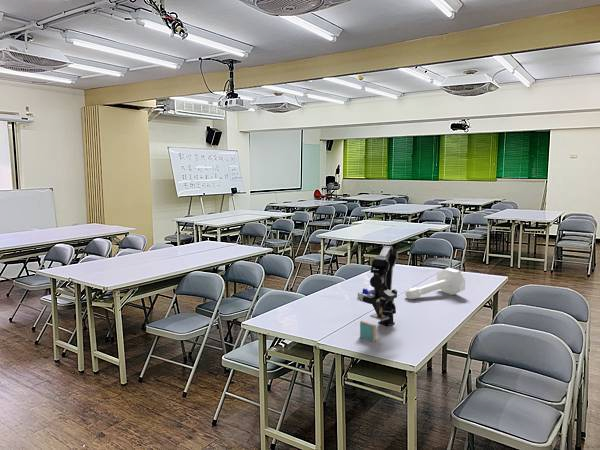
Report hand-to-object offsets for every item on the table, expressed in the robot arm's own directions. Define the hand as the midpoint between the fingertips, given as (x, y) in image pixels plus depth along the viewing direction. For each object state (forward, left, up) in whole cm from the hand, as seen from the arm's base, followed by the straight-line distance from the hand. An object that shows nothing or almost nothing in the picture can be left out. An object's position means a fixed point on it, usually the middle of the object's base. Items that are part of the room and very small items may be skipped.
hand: (379, 313), depth 228 cm
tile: (0, -7, -11) cm, 13 cm away
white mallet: (-26, +80, -12) cm, 85 cm away
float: (0, 0, -2) cm, 2 cm away
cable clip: (-51, +46, -11) cm, 69 cm away
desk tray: (-50, +46, -11) cm, 69 cm away
